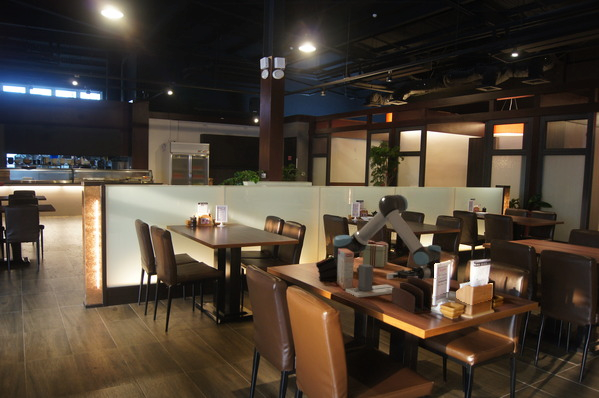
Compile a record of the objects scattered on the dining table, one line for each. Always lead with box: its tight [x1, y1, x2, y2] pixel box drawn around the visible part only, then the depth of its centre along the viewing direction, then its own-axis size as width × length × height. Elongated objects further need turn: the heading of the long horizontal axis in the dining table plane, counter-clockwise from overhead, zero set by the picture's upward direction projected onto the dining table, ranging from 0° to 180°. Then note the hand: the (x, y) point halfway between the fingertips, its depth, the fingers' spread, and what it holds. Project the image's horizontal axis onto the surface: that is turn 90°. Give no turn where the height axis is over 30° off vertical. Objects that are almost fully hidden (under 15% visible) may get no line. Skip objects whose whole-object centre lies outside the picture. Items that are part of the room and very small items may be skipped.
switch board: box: [345, 283, 394, 298], centre depth 237 cm, size 28×12×2 cm, turn 116°
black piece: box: [315, 255, 337, 283], centre depth 259 cm, size 4×13×15 cm, turn 99°
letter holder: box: [390, 276, 432, 315], centre depth 212 cm, size 10×20×14 cm, turn 20°
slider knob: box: [356, 263, 374, 291], centre depth 235 cm, size 6×6×13 cm
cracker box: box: [336, 249, 355, 291], centre depth 247 cm, size 14×6×21 cm, turn 9°
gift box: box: [362, 239, 389, 268], centre depth 310 cm, size 17×18×17 cm
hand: (387, 276), depth 241 cm, fingers closed
